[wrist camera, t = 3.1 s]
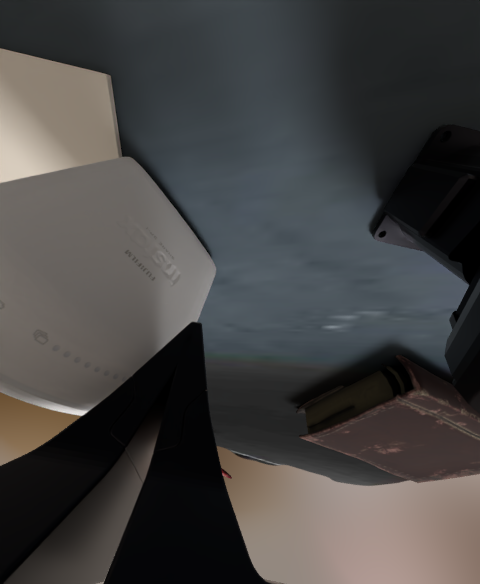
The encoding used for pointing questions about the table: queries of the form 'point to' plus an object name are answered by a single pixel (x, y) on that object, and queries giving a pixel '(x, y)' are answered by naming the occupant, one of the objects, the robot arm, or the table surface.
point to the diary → (399, 424)
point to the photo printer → (91, 281)
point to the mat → (53, 116)
